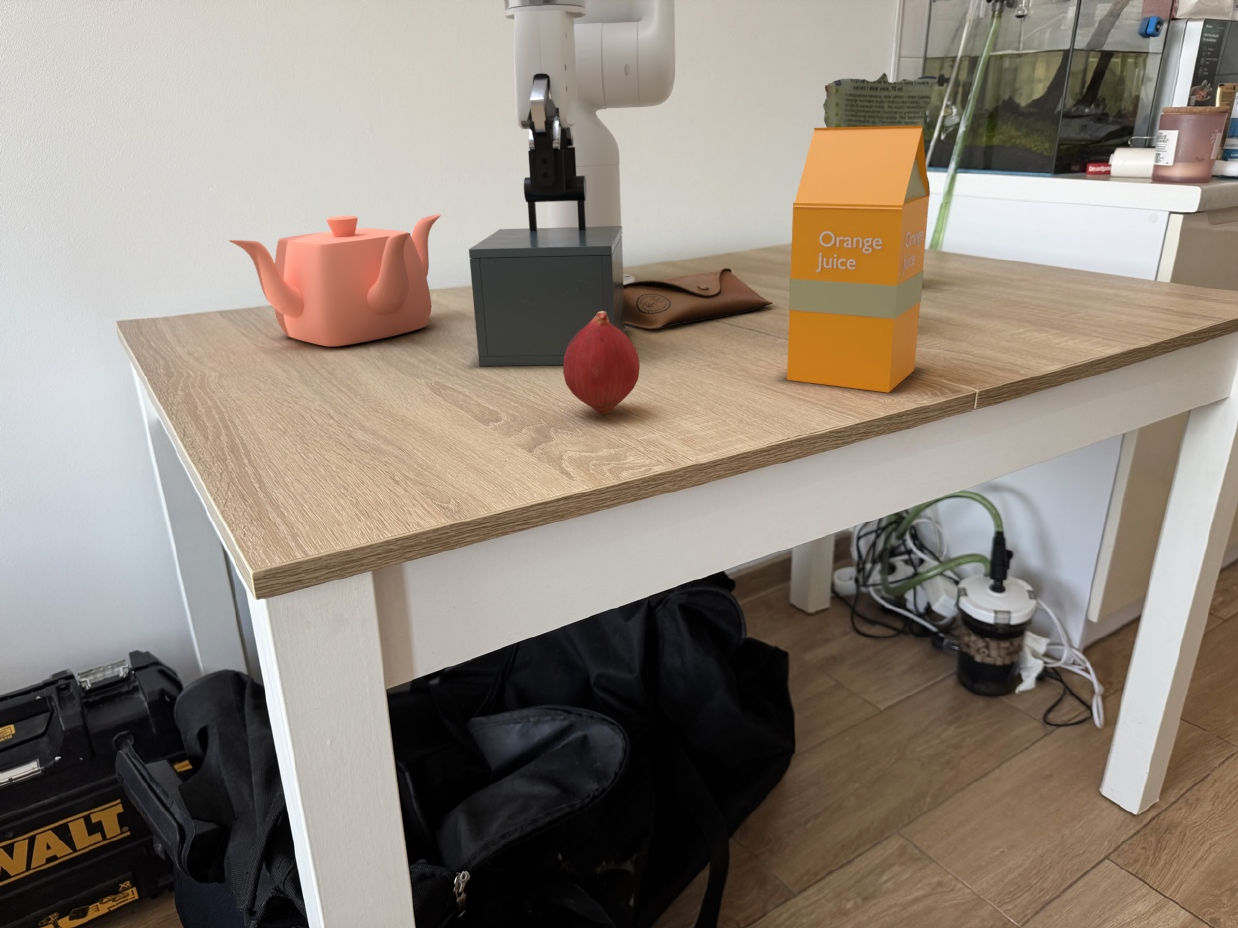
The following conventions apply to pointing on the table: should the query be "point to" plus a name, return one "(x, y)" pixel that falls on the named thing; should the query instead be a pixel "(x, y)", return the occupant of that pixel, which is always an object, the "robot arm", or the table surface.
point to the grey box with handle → (551, 231)
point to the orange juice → (858, 257)
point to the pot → (347, 281)
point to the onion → (601, 365)
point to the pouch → (878, 102)
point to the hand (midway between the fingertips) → (555, 191)
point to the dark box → (542, 304)
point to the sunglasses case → (688, 299)
